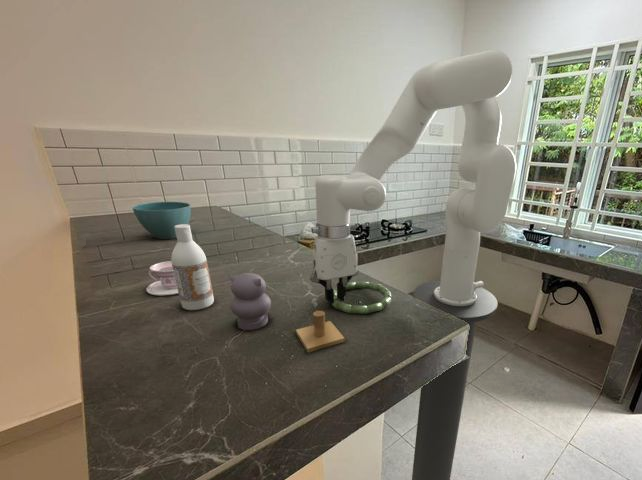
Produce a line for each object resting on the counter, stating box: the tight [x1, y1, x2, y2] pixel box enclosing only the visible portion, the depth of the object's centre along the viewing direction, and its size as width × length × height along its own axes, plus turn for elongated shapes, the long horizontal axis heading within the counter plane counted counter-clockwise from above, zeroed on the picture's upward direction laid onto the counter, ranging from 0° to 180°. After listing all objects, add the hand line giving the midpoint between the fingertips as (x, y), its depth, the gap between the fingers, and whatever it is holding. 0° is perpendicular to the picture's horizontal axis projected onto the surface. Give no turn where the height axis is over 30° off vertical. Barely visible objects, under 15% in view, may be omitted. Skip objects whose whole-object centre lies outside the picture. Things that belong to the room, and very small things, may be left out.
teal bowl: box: [132, 201, 192, 240], centre depth 127 cm, size 18×18×12 cm
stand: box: [295, 310, 346, 354], centre depth 69 cm, size 8×8×6 cm
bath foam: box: [170, 224, 215, 311], centre depth 76 cm, size 7×7×20 cm
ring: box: [331, 281, 393, 315], centre depth 87 cm, size 17×17×2 cm
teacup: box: [145, 260, 179, 297], centre depth 87 cm, size 12×12×6 cm
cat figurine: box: [227, 272, 272, 331], centre depth 72 cm, size 9×8×12 cm
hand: (335, 299), depth 83 cm, fingers closed
